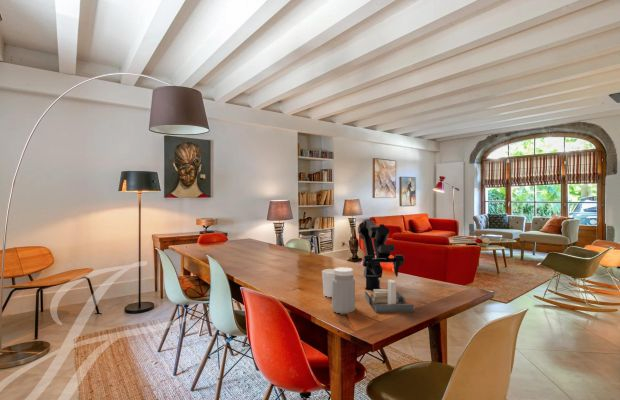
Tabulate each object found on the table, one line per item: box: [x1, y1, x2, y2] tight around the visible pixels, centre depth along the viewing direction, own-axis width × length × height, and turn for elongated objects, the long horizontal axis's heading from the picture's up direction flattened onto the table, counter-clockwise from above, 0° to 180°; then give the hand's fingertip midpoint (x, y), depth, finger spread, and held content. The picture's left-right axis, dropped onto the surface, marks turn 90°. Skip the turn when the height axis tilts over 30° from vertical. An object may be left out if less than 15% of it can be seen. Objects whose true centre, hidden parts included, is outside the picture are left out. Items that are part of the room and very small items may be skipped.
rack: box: [364, 291, 415, 314], centre depth 146 cm, size 20×16×4 cm
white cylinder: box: [321, 268, 335, 298], centre depth 162 cm, size 10×10×12 cm
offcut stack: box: [370, 288, 398, 303], centre depth 151 cm, size 7×11×4 cm, turn 93°
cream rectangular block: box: [387, 279, 397, 304], centre depth 140 cm, size 4×2×12 cm, turn 3°
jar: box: [331, 266, 356, 315], centre depth 140 cm, size 10×10×18 cm
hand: (386, 276), depth 147 cm, fingers open, 9 cm apart
